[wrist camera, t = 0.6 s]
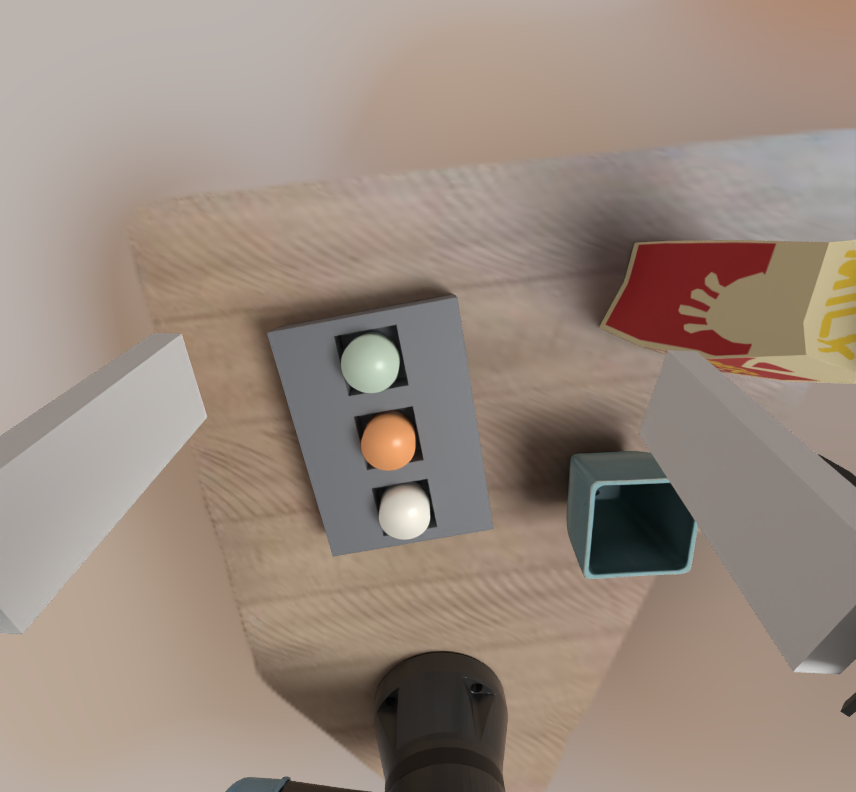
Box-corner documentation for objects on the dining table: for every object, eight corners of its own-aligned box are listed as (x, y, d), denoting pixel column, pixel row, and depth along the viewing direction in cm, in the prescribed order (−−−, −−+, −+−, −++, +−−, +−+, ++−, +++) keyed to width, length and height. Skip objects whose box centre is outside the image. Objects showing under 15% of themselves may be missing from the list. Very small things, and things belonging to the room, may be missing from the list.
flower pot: (646, 431, 40) (709, 476, 31) (635, 512, 43) (691, 575, 34) (554, 435, 40) (592, 482, 31) (549, 516, 42) (583, 580, 34)
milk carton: (689, 361, 38) (964, 458, 19) (596, 332, 37) (787, 403, 18) (739, 260, 36) (1115, 254, 16) (640, 225, 34) (919, 176, 15)
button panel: (487, 507, 42) (493, 529, 39) (339, 533, 42) (332, 556, 39) (453, 294, 36) (457, 297, 32) (280, 326, 36) (266, 332, 33)
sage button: (404, 379, 35) (403, 387, 33) (353, 388, 35) (348, 397, 33) (394, 327, 34) (392, 332, 31) (340, 337, 34) (334, 342, 32)
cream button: (433, 517, 39) (434, 534, 37) (386, 525, 39) (384, 543, 37) (424, 476, 38) (425, 490, 36) (376, 484, 38) (373, 499, 36)
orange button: (419, 452, 37) (420, 465, 35) (370, 460, 37) (367, 474, 35) (410, 405, 36) (409, 416, 34) (359, 414, 36) (355, 425, 34)
